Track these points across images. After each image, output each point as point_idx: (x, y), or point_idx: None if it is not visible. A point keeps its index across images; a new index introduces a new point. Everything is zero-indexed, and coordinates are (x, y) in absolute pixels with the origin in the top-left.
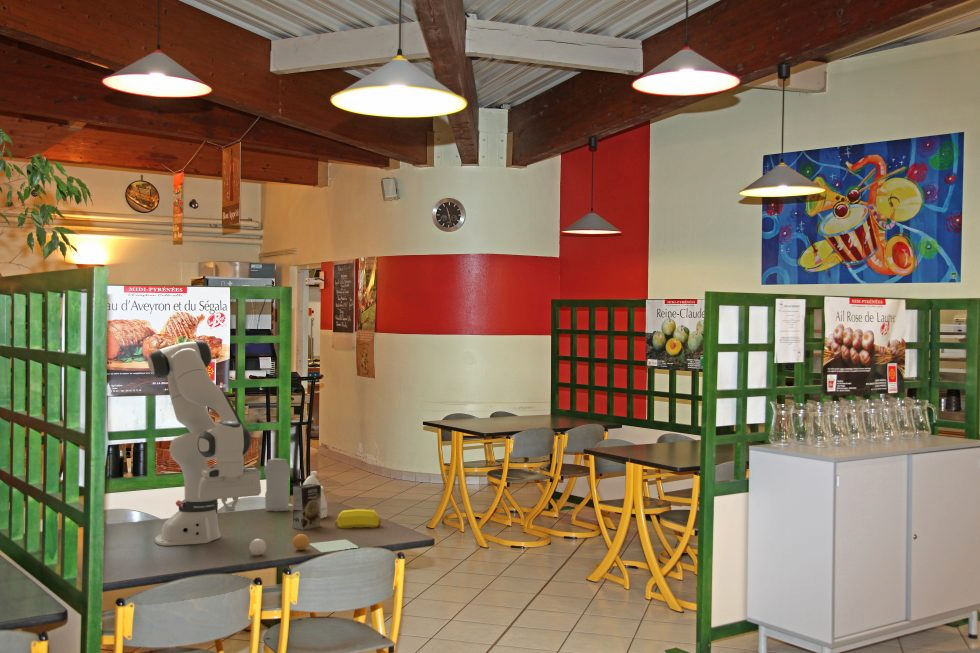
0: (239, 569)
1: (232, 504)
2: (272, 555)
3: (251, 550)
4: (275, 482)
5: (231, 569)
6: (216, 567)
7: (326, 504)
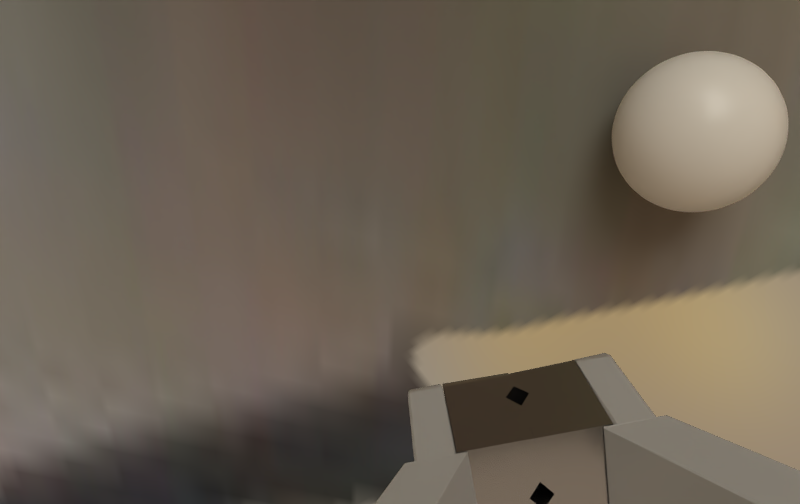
0: None
1: (627, 479)
2: None
3: (620, 171)
4: None
5: None
6: (322, 395)
7: None
